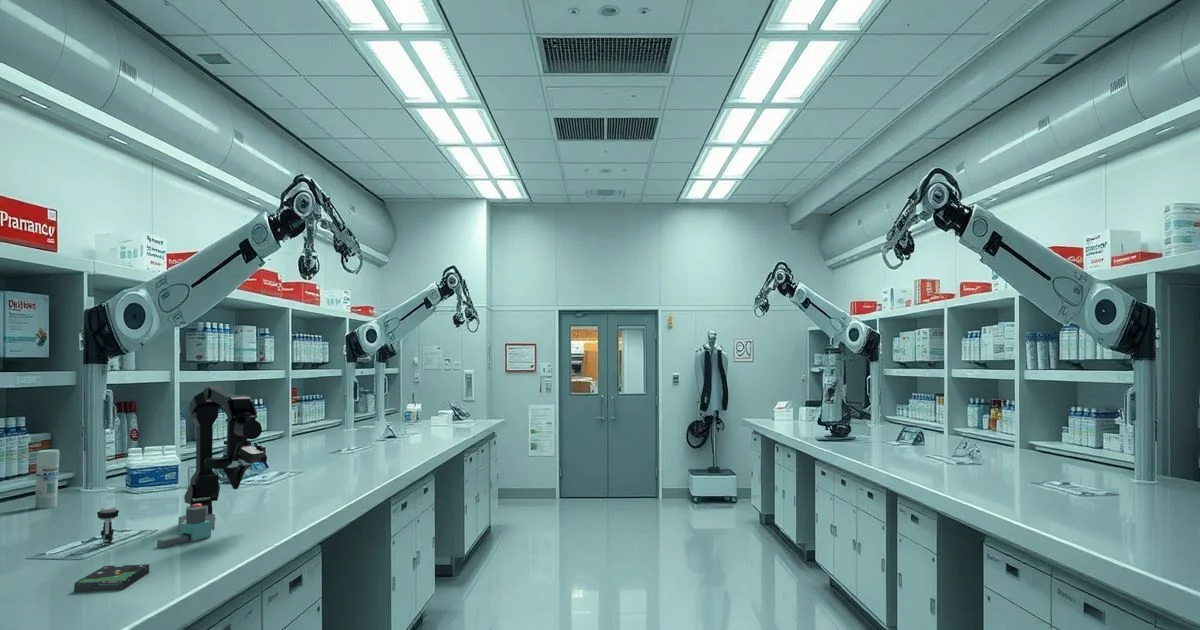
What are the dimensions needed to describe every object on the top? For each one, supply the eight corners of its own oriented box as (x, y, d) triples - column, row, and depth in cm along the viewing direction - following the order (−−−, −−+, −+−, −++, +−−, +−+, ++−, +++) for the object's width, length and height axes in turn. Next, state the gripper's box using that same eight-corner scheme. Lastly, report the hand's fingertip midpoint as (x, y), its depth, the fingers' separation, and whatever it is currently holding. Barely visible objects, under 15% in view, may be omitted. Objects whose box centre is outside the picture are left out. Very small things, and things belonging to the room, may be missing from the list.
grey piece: (177, 532, 230) (178, 507, 231) (198, 527, 237) (199, 503, 238) (193, 534, 228) (194, 509, 228) (214, 529, 234) (215, 505, 235)
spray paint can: (50, 504, 275) (52, 449, 276) (61, 506, 272) (63, 450, 273) (30, 507, 269) (33, 451, 270) (41, 509, 266) (44, 451, 268)
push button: (116, 545, 213) (118, 509, 214) (94, 547, 211) (95, 511, 211) (118, 540, 219) (120, 505, 220) (96, 542, 217) (98, 507, 217)
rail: (164, 548, 210) (164, 540, 210) (156, 547, 211) (157, 539, 211) (210, 536, 224) (211, 530, 224) (203, 536, 225) (203, 529, 225)
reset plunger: (190, 512, 232) (191, 504, 232) (197, 511, 234) (197, 503, 235) (196, 513, 231) (196, 505, 231) (203, 512, 234) (203, 503, 234)
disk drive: (102, 577, 184) (72, 595, 169) (103, 565, 184) (73, 582, 170) (149, 575, 186) (123, 592, 171) (150, 563, 186) (124, 579, 172)
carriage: (192, 540, 217) (193, 510, 218) (179, 539, 219) (180, 509, 220) (210, 536, 223) (211, 507, 223) (197, 534, 225) (198, 505, 225)
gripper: (231, 441, 220) (229, 495, 219) (280, 435, 237) (279, 486, 236) (203, 439, 224) (201, 493, 223) (254, 434, 241) (252, 484, 240)
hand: (235, 489), depth 231 cm, fingers closed
